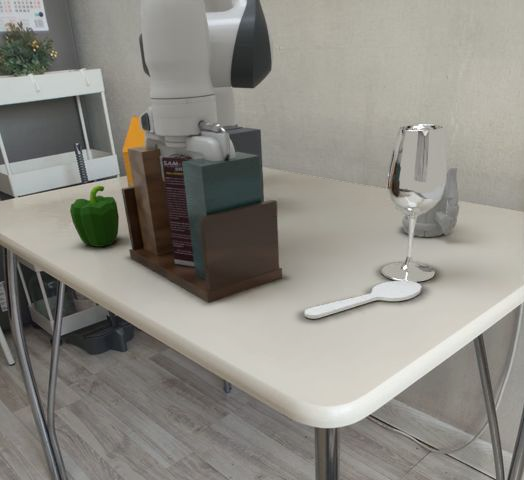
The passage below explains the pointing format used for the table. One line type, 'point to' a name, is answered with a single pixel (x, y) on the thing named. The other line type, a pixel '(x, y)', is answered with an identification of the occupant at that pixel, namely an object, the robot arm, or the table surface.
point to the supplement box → (178, 208)
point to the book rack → (205, 224)
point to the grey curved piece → (439, 212)
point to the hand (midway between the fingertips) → (196, 217)
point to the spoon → (369, 298)
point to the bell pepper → (96, 219)
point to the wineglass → (415, 187)
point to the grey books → (247, 144)
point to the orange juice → (132, 145)
